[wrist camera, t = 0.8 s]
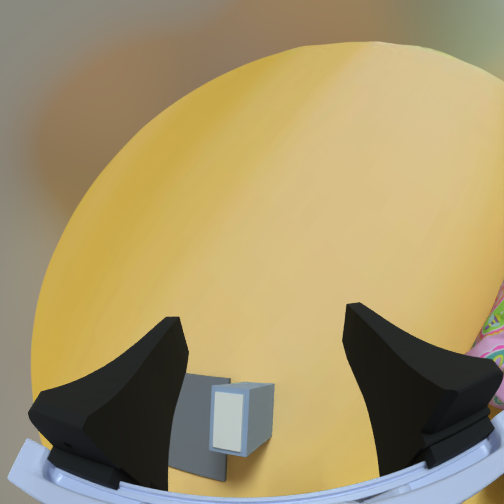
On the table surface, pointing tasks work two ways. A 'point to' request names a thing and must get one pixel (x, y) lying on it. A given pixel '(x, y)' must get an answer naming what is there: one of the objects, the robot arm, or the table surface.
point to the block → (240, 417)
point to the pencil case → (493, 343)
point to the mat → (196, 429)
